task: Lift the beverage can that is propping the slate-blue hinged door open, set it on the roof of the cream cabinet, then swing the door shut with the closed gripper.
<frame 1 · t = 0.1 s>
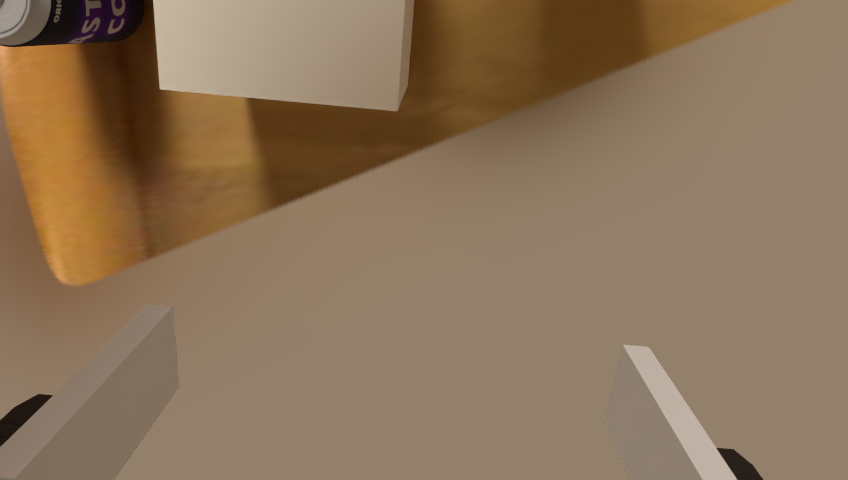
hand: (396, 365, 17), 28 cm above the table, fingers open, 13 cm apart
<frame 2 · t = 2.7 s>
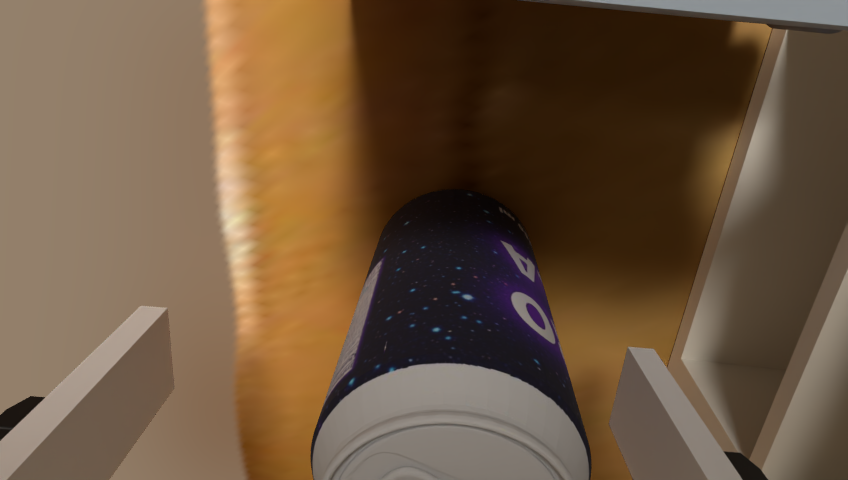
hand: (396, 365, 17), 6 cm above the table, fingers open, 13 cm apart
beverage can: (454, 251, 22), on the table
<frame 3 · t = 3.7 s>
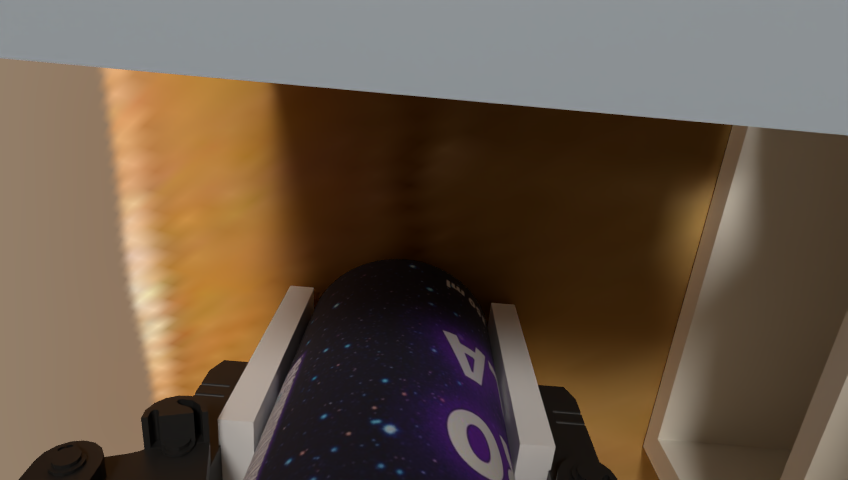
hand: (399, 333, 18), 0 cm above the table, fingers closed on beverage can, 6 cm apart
beverage can: (400, 324, 19), on the table, touching gripper
door: (558, 2, 9), point 6 cm above the table, hinge at 0.0°
when the fingers open (15 cm above the table, at t = 8.0 s): beverage can drops 1 cm, resting on cabinet.
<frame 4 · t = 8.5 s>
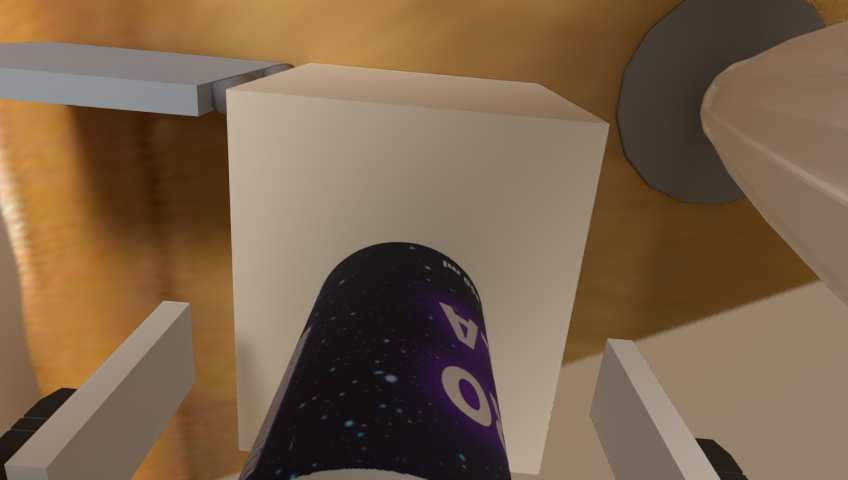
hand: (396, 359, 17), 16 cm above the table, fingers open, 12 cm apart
cup: (723, 100, 30), on the table
cabinet: (414, 200, 32), on the table
beverage can: (401, 304, 20), point 13 cm above the table, touching cabinet
door: (119, 58, 24), point 6 cm above the table, hinge at 0.0°
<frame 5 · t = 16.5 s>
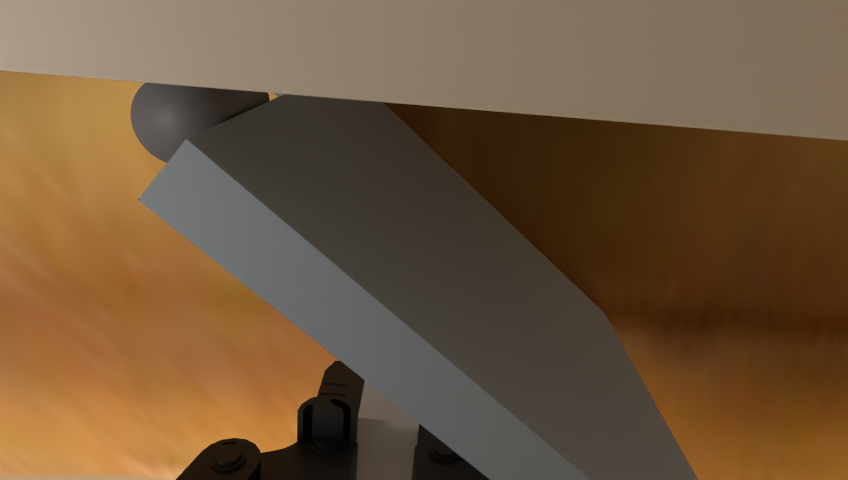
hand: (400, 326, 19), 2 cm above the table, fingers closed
door: (453, 284, 13), point 6 cm above the table, hinge at 50.9°, touching hand
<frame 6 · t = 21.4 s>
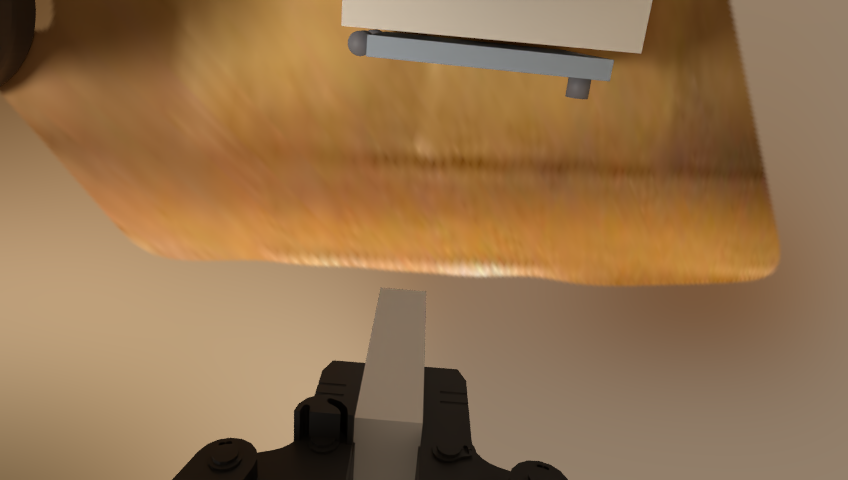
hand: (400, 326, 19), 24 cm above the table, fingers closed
door: (470, 61, 33), point 6 cm above the table, hinge at 89.4°
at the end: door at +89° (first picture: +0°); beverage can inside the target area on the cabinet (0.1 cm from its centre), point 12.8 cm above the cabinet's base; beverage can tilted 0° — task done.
